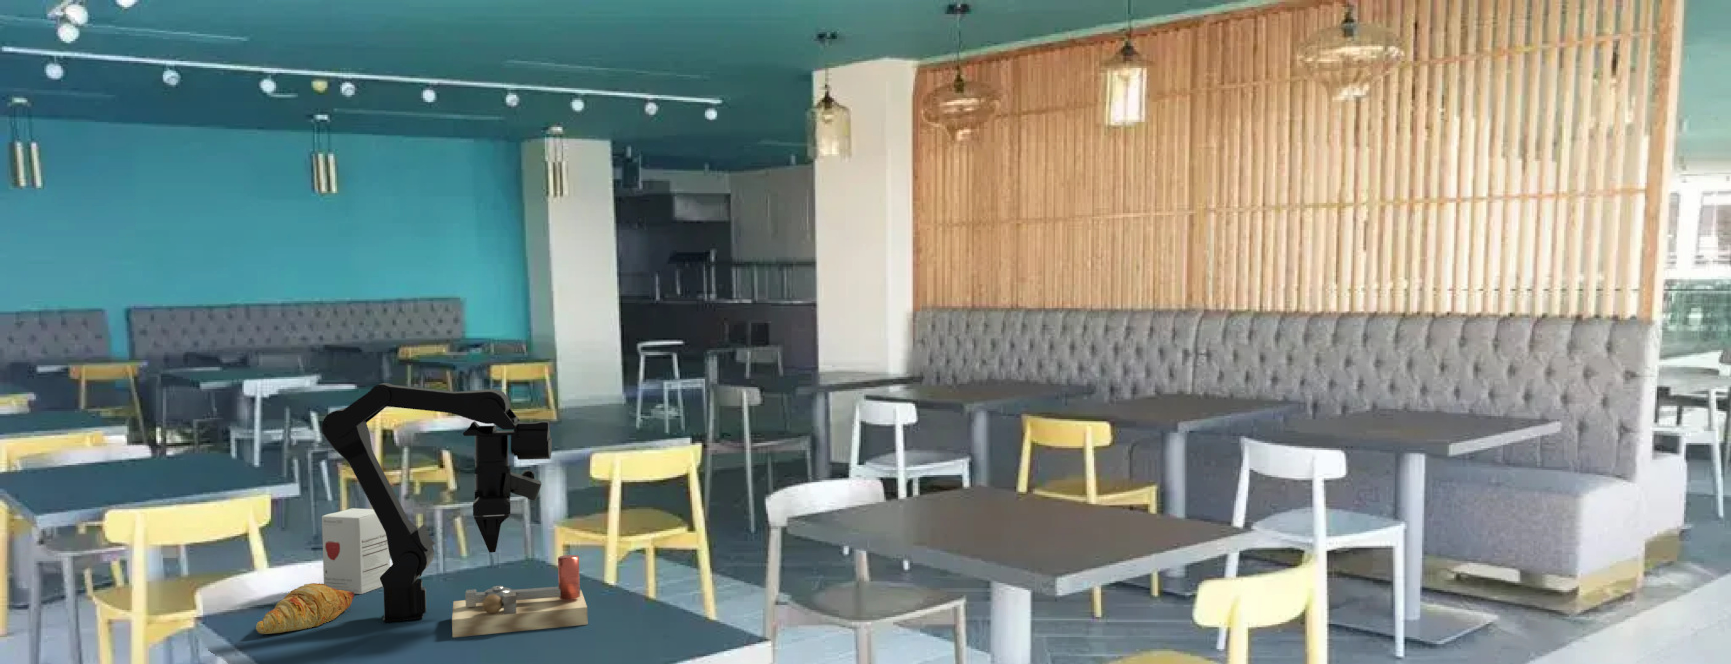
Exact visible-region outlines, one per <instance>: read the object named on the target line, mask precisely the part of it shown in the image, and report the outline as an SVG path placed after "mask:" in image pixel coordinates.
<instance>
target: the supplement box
mask: <svg viewBox="0 0 1731 664" xmlns="http://www.w3.org/2000/svg"><path fill="white" fill-rule="evenodd" d="M321 533H322V564H323V566H322V568H323V584H325V585H327V587H331V588H334V589H337V590H344V591H350V592H354V595H362V594H365V593H368V592H371V591H375V590H376V589H380V588H383V585H382V583H381V581H380V577H381V576H382V575H383V574H384V573H385V572H386V571H387V570H388V569H389V568H390V567H391V565H390V564H391V560H390V559H391V557H390V554H389V550H388V543H387V536H386V533H385V530H384V528H383V527H382V525H381V523H380V521H379V519H378V517H377V515H376V513H375V511H374V510H373V508H357V507H353V508H348V509H345V510H341V511H340V510H339V511H337V512H331V513H327V514H325V515H322V516H321Z"/></svg>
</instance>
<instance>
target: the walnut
mask: <svg viewBox="0 0 1731 664" xmlns="http://www.w3.org/2000/svg"><path fill="white" fill-rule="evenodd" d="M501 607H502V599H501V598H500V597H499V596H498V595H495V594H491V595H488V596H487V597H486V598H485V599H484V601H483V609H484V610H485V611H486V612H487V613H490V614H494V613H497V612H498V611H499V610H500V609H501Z"/></svg>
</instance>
